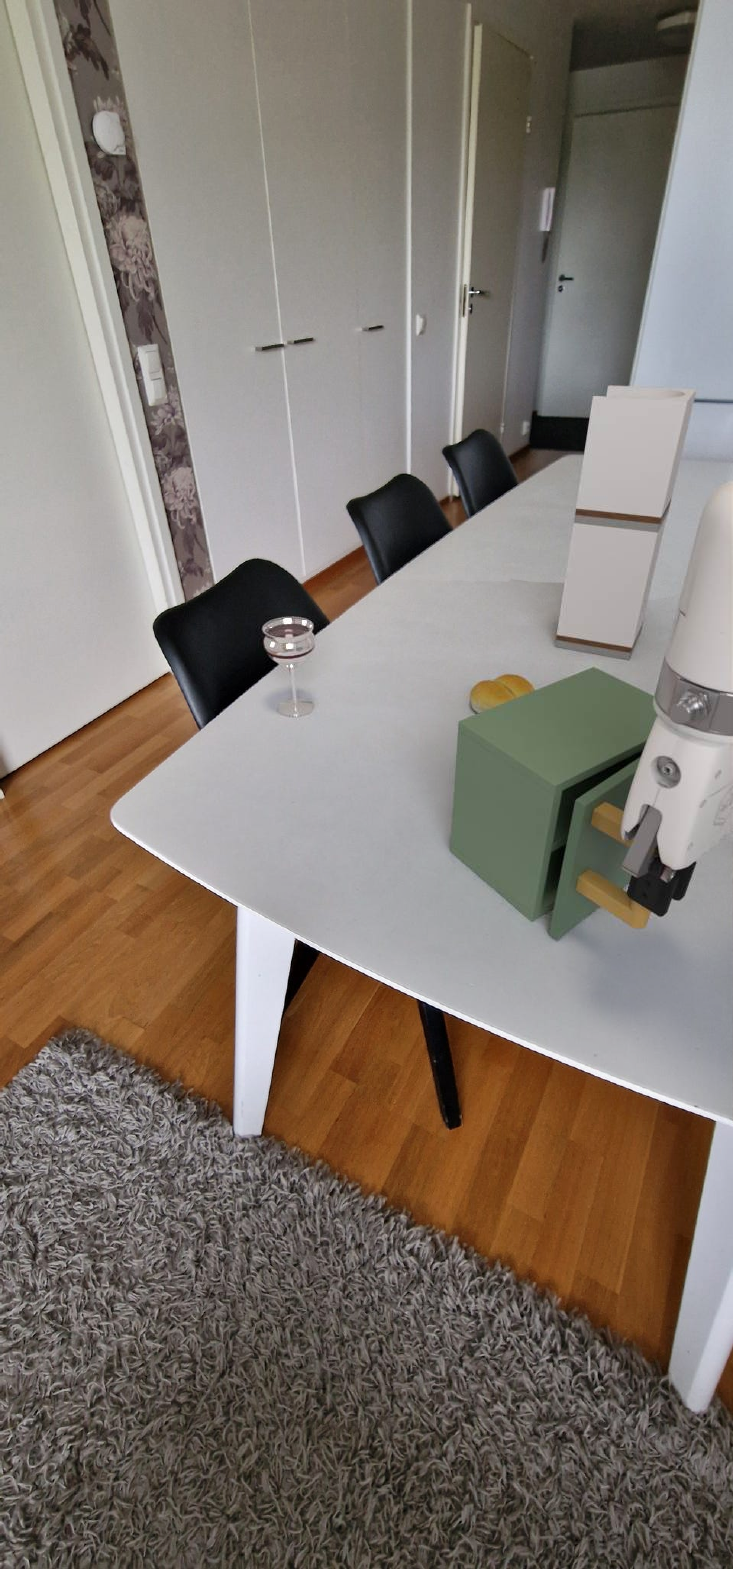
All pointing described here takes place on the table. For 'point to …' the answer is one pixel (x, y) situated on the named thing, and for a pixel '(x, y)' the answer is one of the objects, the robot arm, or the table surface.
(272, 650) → the wineglass
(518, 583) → the table surface
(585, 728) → the cupboard
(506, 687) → the bread roll
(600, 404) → the tall white column
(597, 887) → the cupboard door
